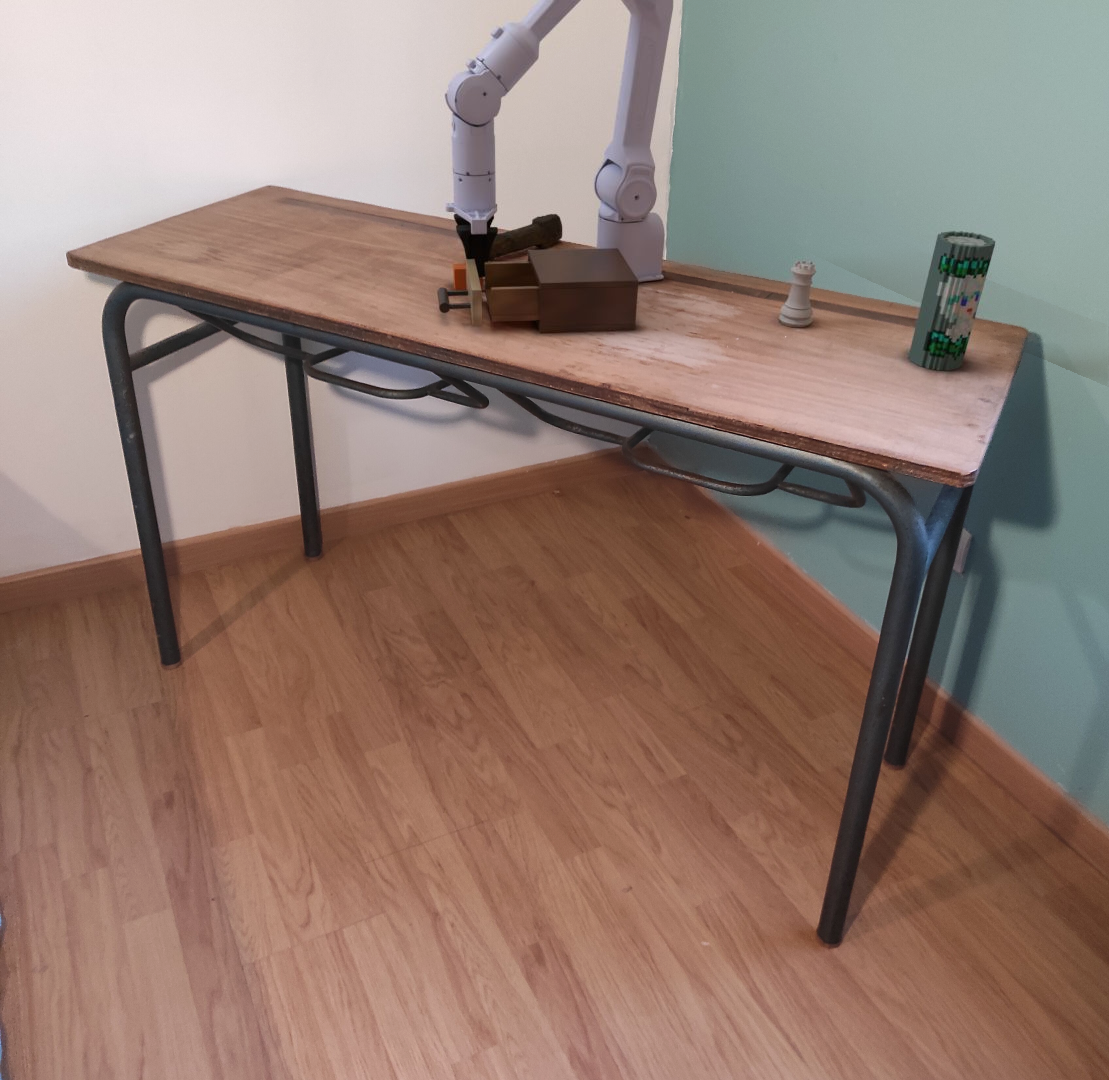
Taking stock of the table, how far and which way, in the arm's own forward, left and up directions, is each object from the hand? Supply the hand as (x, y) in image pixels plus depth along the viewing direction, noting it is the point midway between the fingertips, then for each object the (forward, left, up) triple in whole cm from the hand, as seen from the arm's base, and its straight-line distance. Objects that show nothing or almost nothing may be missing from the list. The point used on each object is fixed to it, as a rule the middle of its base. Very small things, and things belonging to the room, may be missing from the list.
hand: (476, 271), depth 136 cm
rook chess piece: (-36, +27, -3) cm, 45 cm away
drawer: (+1, +11, -2) cm, 11 cm away
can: (-45, +44, -3) cm, 63 cm away
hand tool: (-12, -14, -3) cm, 19 cm away
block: (0, 0, -2) cm, 2 cm away
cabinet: (-10, +14, -2) cm, 17 cm away
